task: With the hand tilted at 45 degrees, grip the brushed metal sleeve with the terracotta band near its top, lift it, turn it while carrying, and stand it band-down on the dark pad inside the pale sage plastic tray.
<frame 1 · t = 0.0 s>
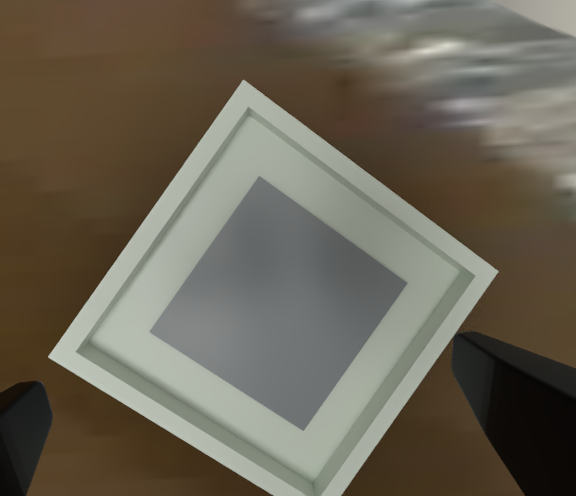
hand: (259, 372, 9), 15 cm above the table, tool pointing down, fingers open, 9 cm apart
sage tray: (280, 303, 24), on the table
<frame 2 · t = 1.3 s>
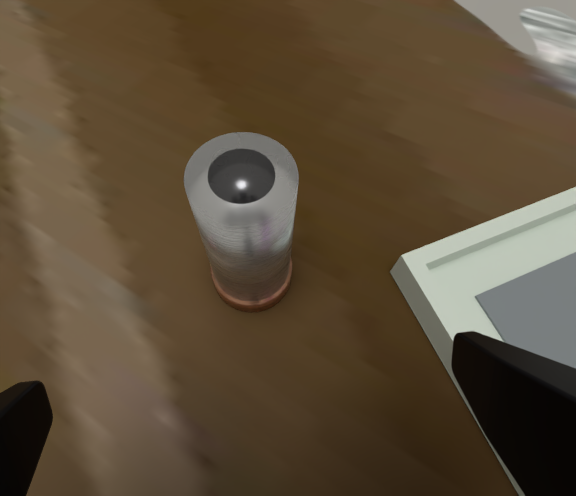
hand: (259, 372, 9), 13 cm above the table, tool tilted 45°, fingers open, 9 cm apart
metal sleeve: (252, 275, 24), on the table
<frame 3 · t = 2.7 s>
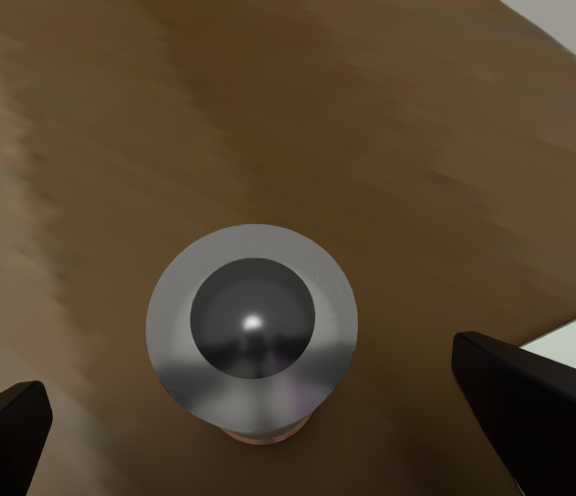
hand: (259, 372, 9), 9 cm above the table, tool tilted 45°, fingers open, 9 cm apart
metal sleeve: (262, 384, 17), on the table
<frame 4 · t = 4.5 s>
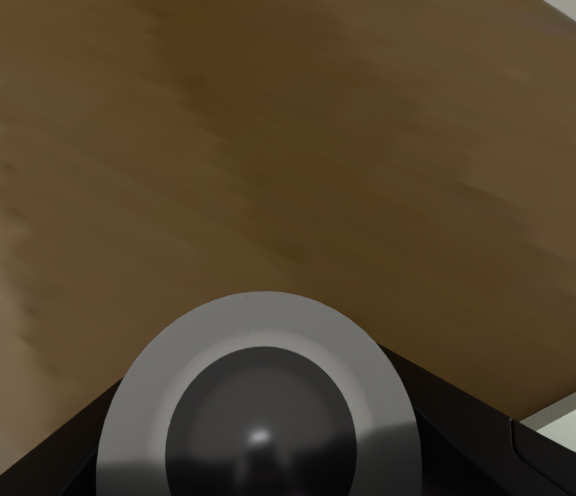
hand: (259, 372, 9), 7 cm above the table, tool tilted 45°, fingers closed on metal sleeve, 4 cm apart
metal sleeve: (267, 444, 14), on the table, touching gripper
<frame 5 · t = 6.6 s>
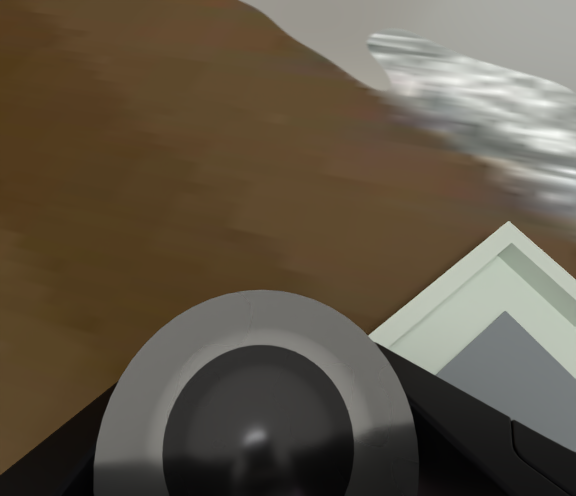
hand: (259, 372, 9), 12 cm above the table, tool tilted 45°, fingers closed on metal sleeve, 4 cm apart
metal sleeve: (266, 443, 14), point 5 cm above the table, touching gripper
sage tray: (513, 470, 19), on the table
when the fingers open (9 cm above the table, at t = 9.0 s): metal sleeve stays where it is, resting on sage tray.
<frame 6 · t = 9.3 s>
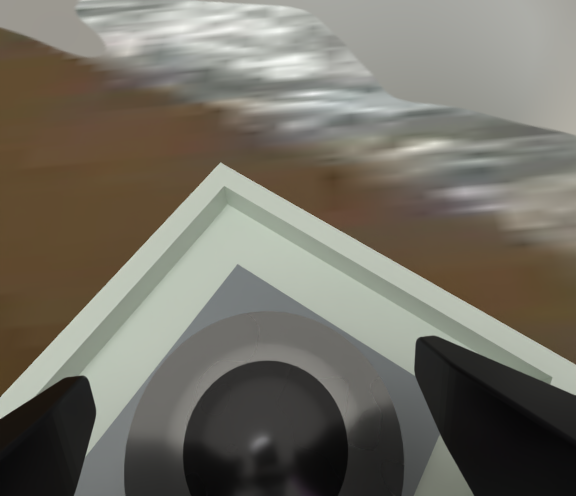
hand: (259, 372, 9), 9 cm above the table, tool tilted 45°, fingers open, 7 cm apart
metal sleeve: (269, 444, 15), point 1 cm above the table, touching sage tray
sage tray: (268, 444, 16), on the table
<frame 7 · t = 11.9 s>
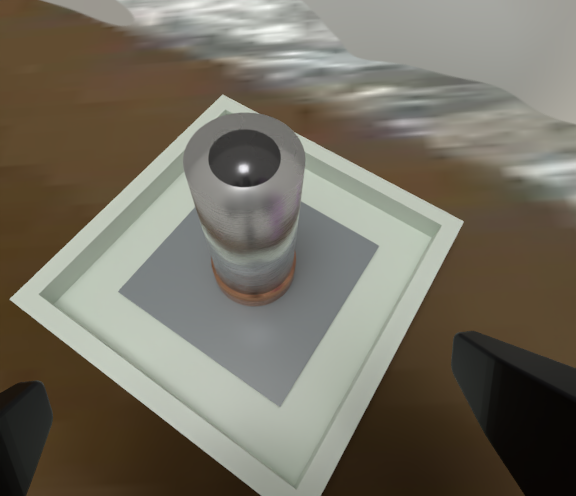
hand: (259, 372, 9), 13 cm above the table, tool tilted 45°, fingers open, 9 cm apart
metal sleeve: (254, 268, 23), point 1 cm above the table, touching sage tray
sage tray: (254, 274, 24), on the table
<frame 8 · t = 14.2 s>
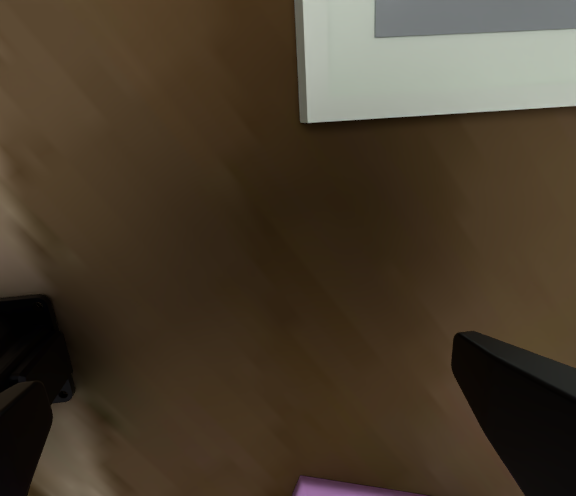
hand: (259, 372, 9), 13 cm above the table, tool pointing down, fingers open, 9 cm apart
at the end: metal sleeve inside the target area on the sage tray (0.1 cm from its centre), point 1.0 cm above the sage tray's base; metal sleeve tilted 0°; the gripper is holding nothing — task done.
